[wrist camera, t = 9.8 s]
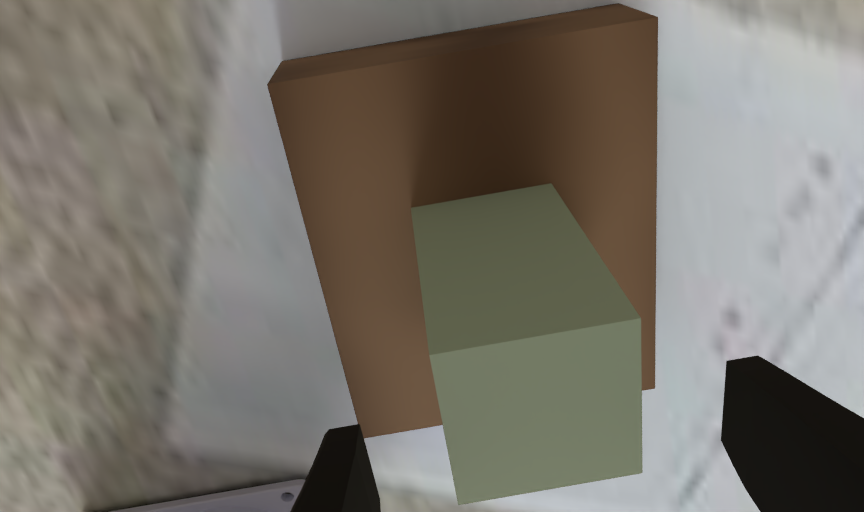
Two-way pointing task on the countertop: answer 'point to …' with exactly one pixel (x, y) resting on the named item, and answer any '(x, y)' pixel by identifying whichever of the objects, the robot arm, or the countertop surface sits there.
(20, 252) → the countertop surface
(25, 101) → the countertop surface
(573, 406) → the block
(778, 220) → the countertop surface
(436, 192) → the plinth
